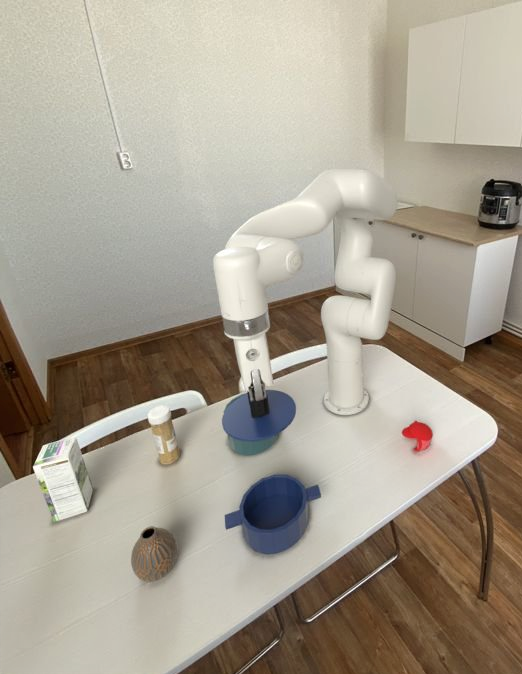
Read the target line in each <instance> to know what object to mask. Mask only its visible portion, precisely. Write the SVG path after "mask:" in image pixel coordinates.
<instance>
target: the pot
mask: <svg viewBox="0 0 522 674" xmlns="http://www.w3.org/2000/svg"><path fill="white" fill-rule="evenodd" d="M246 394H247V392H245V393H241V394H239V395H237V396H235V397H234V398H231V400H230V401H229V402H228V403H226V405H225V407H224V410H223V413H224V412H225V410H226V409H227V408H228V406H229V405H230V404H231V403H233V402H234V401H235V400H237V399H238V398H240V397H242V396H244V395H246ZM226 435H227V440H228V446H229V447H230V449H231V450H232V451H233V452H234V453H235V454H238V455H241V456H252V455H253V456H254V455H258V454H261V453H263V452H265V451H267V450H268V449H270V448H271V447H272V446H273V445H274V444H275V443H276V442H277V440H278V438H279V435H280V433H279V434H277V435H275V436H273V437H271V438H268V439H265V440H260V441H252V442H247V441H240V440H236V439H234V438H232V437H230V436H229V435H228V434H227V433H226Z"/></svg>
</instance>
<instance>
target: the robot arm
mask: <svg viewBox="0 0 522 674" xmlns="http://www.w3.org/2000/svg"><path fill="white" fill-rule="evenodd" d="M398 202H399V201H398V195H397V192H396V190H395V188H394V186H393V185H391V183H389V182H388V181H386V179H384V178H382V176H380V175H379V174H377V173H375V172H373V171H372V170H369V169H365V168H328V169H326V170H324V171H322V172H320V174H319V175H317V176H316V178H314V179H313V180H312V181H311V182H310V183H309V185H307V186H306V187H305V188H304V189H303V190H302V191H301V192H300V193H299V194H298V195H297V196H296V197H295V198H293V199H291V200H288V201H285V202H282V203H280V204H279V205H276V206H273V207H271V208H268V209H266V210H264V211H262V212H259V213H257V214H255V215H254V216H252V217H251V218H249V219H248V220H246V222H245V223H243V224H242V225H241V226H240V227H239V228H238V229H236V231H234V233H232V235H231V236H230V238H229V239H228V240H227V242H226V244H225V247H224V249H223V250H219V251H218V252H217V253H216V254H215V255H214V256H213V259H212V267H213V274H214V278H215V279H214V280H215V284H216V285H215V286H216V291H217V292H216V293H217V297H218V302H219V309H220V315H221V320H222V326H223V327H222V328H223V332H224V335H225V336H226V337H227V338H229V339H232V340H233V345H234V346H233V347H234V351H235V357H236V361H237V365H238V370H239V373H240V376H241V380H242V384H243V386H244V390H245V392H246V393H247V394H248V400H249V405H250V410H251V416H252V418H256V417H260V416H264V415H268V414H269V413H270V412H269V404H268V396H267V394H266V390H267V389H266V387H267V388H268V387H273V386H274V378H273V370H272V364H271V358H270V351H269V345H268V344H269V343H268V339H267V334H266V333H267V332H268V331H269V330H270V328H271V322H270V313H269V305H268V296H267V294H268V293H267V287H269V286H274V285H277V284H280V283H284V282H288V281H289V280H291V279H293V278H294V277H296V276H297V274H299V273H300V271H301V269H302V267H303V265H304V251H303V249H302V248H301V247H300V245H299V244H298V243H296V241H294V239H302V238H307V237H310V236H314V235H317V234H320V233H322V232H323V231H325V230H326V229H327V228H328V227H329V225H330V224H331V223H332V221H333V220H334V219H335V218H336V221H337V223H338V226H339V230H340V240H339V247H338V252H337V256H336V263H335V269H334V277H333V280H334V281H333V282H334V285H335V286H336V287H337V288H339V289H340V290H343V291H346V292H351V293H358V294H363V295H369V296H370V300H369V299H365V298H359V297H354V296H348V295H339V294H338V295H332V296H330V297H328V298H326V300H324V302H323V303H322V306H321V309H320V320H321V324H322V327H323V332H324V336H325V343H326V358H327V359H326V360H327V361H326V362H327V378H328V390H327V391H326V392H325V393H324V395H323V396H324V397H323V404H324V406H325V408H326V409H327V410H328V411H329V412H331V413H333V414H336V415H339V416H351V415H356V414H358V413H360V412H362V411H363V410H364V409H366V408H367V406H368V405H369V402H370V397H369V396H370V395H369V393H368V391H367V390H366V389H365V388H364V377H365V373H364V366H363V365H364V364H363V363H364V359H363V357H364V355H363V354H364V353H363V342H362V340H361V338H362V339H366V340H367V339H368V340H372V341H378V340H381V339H382V338H383V337H384V336H385V335H386V333H387V330H388V328H389V324H390V319H391V318H390V317H391V312H392V306H393V300H394V294H395V288H396V279H397V276H396V275H397V273H396V267H395V265H394V263H392V261H390V260H389V259H386V258H382V257H374V256H372V251H373V246H374V235H373V233H372V231H371V228H370V227H369V225H368V223H367V221H366V220H374V221H388V220H390V219H391V218H392V217H393V216H394V215H395V214H396V211H397V208H398ZM252 389H254V392H252ZM249 394H250V398H249Z"/></svg>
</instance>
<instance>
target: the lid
mask: <svg viewBox="0 0 522 674" xmlns="http://www.w3.org/2000/svg"><path fill="white" fill-rule="evenodd" d="M265 390H266V394H267V396H268V404H269V412H270V413H269V414H268V415H264V416H260V417H256V418H252V416H251V410H250V405H249V400H248V394H246V395H244V396H242V397H240V398H238V399H237V400H235V401H234V402H233V403H231V404H230V405H229V406H228V408H227V409H226V410H225V409H224V410H225V412H224V411H223V414H222V417H221V424H222V425H221V426H222V429H223V431H224V432H225V434H226V435H227V434H228V435H229V436H230V437H232V438H234V439H236V440H240V441H247V442H252V441H260V440H265V439H268V438H271V437H273V436H275V435H277V434H279V435H280V433H282V432H283V431H285V430H286V429H287V428H289V426H290V425H291V424H292V422H293V421H294V419H295V417H296V414H297V406H296V401H295V400H294V398H293V397H292V396H290V395H289V394H287V393H286V392H284V391H281V390H276V389H265ZM252 392H254V389H252ZM249 398H250V394H249ZM228 435H227V436H228Z"/></svg>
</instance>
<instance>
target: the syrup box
mask: <svg viewBox="0 0 522 674" xmlns="http://www.w3.org/2000/svg"><path fill="white" fill-rule="evenodd" d="M32 468H33V472H34V474H35V477H36V480H37V482H38V485H39V488H40V490H41V492H42V495H43V497H44V501H45V503H46V505H47V508H48V511H49V513H50V515H51V517H52V521H53V522H54V523H55V522H60V521H62V520H63V521H64V520H65V519H68V518H72V517H75V516H78V515H82V514H84V513H87V512H89V509H90V504H91V500H92V497H93V492H94V486H93V484H92V481H91V477H90V475H89V472H88V469H87V466H86V463H85V460H84V456H83V454H82V450H81V447H80V444H79V441H78V438H77V437H72V438H65V439H61V440H57V441H53V442H49V443H46V444H44V445H42V446H41V449H40V451H39V453H38V455H37V458H36V460H35V462H34V464H33V466H32Z"/></svg>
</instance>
